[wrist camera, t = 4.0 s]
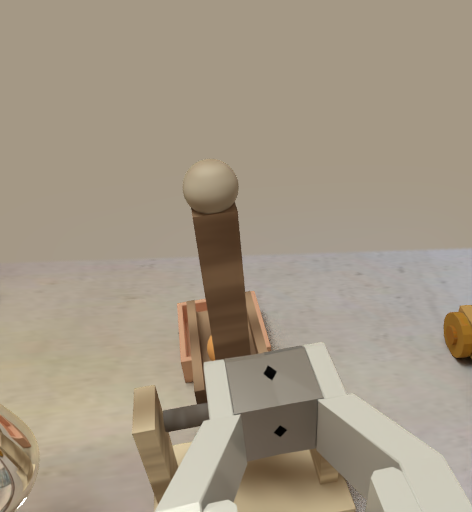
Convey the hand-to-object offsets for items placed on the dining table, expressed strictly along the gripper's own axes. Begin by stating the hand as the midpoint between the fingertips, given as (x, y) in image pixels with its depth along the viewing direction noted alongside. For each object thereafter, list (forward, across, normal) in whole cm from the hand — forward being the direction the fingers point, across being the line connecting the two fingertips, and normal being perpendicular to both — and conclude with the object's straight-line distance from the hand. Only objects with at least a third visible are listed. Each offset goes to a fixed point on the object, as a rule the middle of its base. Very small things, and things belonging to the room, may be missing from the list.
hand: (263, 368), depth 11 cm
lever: (+20, 0, -22) cm, 29 cm away
